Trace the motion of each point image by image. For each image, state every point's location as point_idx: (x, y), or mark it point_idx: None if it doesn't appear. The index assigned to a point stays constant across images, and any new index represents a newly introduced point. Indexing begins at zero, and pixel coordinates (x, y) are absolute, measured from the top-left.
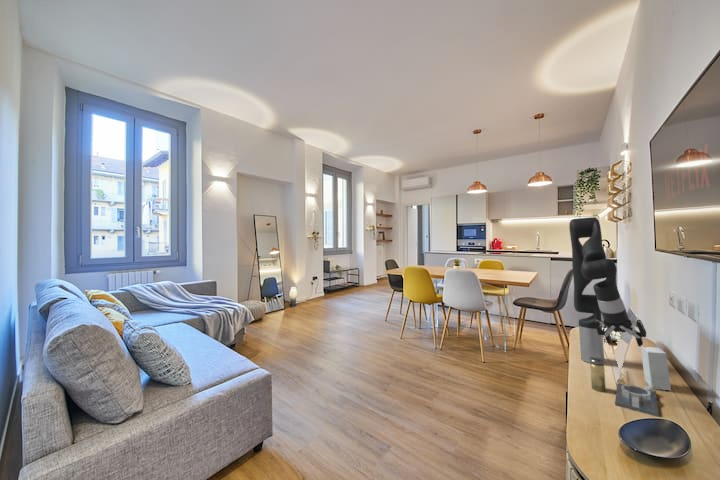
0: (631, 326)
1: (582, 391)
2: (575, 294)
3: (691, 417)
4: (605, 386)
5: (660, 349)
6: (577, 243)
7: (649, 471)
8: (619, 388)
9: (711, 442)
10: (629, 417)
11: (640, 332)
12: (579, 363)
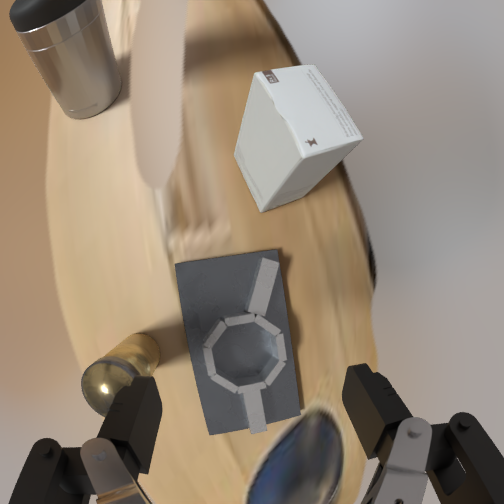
0: (420, 502)
1: None
2: None
3: (350, 350)
4: (157, 355)
5: (328, 85)
6: None
7: None
8: (190, 318)
9: None
10: (250, 463)
11: (438, 493)
12: (56, 146)
